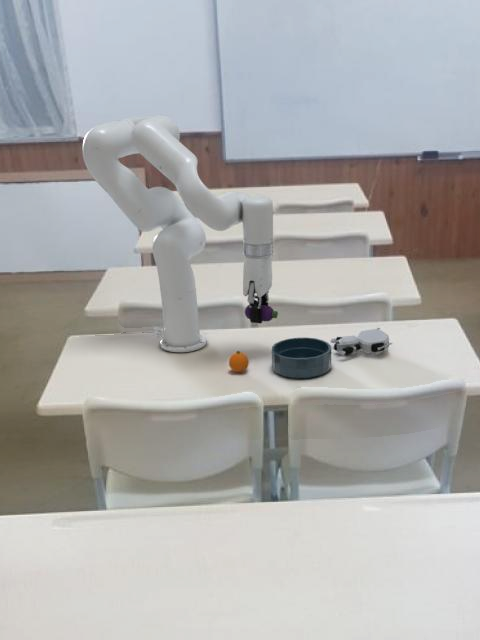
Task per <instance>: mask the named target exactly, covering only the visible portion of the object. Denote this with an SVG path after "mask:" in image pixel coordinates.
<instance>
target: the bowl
mask: <svg viewBox="0 0 480 640" xmlns="http://www.w3.org/2000/svg"><path fill="white" fill-rule="evenodd" d="M271 368H272V370H273V371H274V373H276V374H278V375H280V376H281V377H285V378H289V379H299V380H302V379H303V380H304V379H312V378H317V377H320V376H322V375H324V374H325V373H327V372H329V371H330V370H331V368H332V345H331V343H329V342H328V341H325V340H323V339H320V338H314V337H292V338H286V339H282V340H280V341H277V342H276V343H274V344H273V345H272V346H271Z"/></svg>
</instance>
